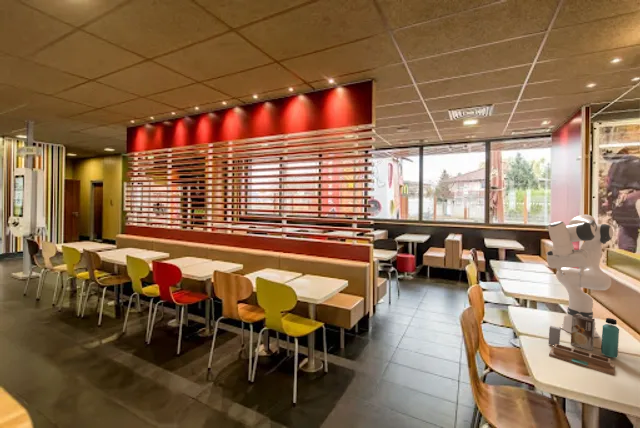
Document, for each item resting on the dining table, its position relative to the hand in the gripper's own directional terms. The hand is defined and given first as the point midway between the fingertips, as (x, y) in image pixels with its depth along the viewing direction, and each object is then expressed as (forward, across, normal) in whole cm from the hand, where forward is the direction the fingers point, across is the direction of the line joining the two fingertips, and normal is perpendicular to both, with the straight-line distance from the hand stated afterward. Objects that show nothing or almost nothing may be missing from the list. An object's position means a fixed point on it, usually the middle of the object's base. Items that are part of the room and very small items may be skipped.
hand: (572, 275), depth 170 cm
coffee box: (+39, +7, 0) cm, 40 cm away
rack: (+38, -4, +20) cm, 43 cm away
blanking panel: (+35, +11, +15) cm, 40 cm away
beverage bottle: (+42, -6, +1) cm, 43 cm away
